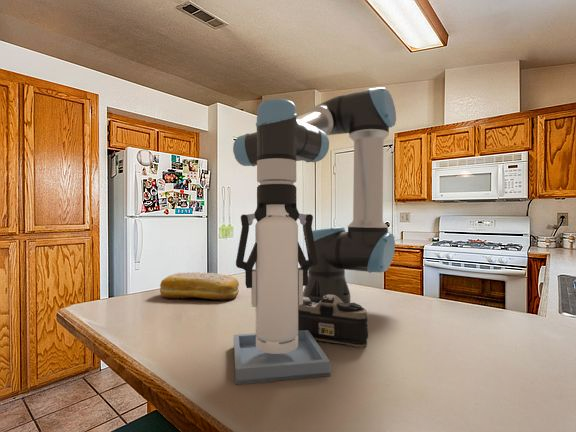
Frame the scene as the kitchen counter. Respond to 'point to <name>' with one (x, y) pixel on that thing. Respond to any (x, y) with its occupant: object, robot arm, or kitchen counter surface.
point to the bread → (199, 286)
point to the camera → (334, 321)
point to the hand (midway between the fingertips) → (277, 303)
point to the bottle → (276, 281)
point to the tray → (278, 360)
